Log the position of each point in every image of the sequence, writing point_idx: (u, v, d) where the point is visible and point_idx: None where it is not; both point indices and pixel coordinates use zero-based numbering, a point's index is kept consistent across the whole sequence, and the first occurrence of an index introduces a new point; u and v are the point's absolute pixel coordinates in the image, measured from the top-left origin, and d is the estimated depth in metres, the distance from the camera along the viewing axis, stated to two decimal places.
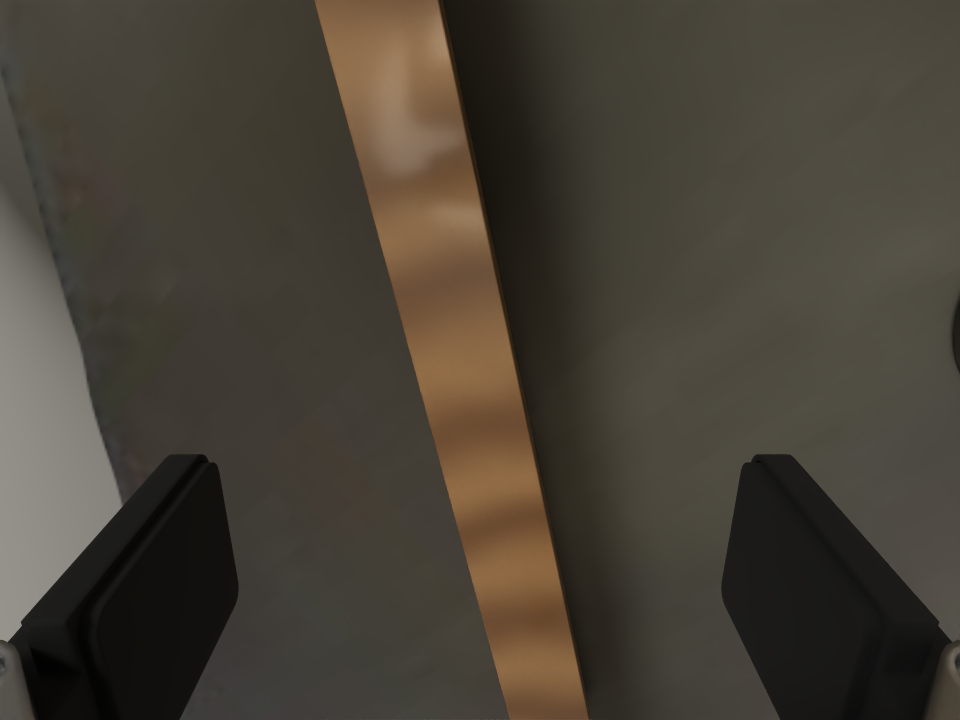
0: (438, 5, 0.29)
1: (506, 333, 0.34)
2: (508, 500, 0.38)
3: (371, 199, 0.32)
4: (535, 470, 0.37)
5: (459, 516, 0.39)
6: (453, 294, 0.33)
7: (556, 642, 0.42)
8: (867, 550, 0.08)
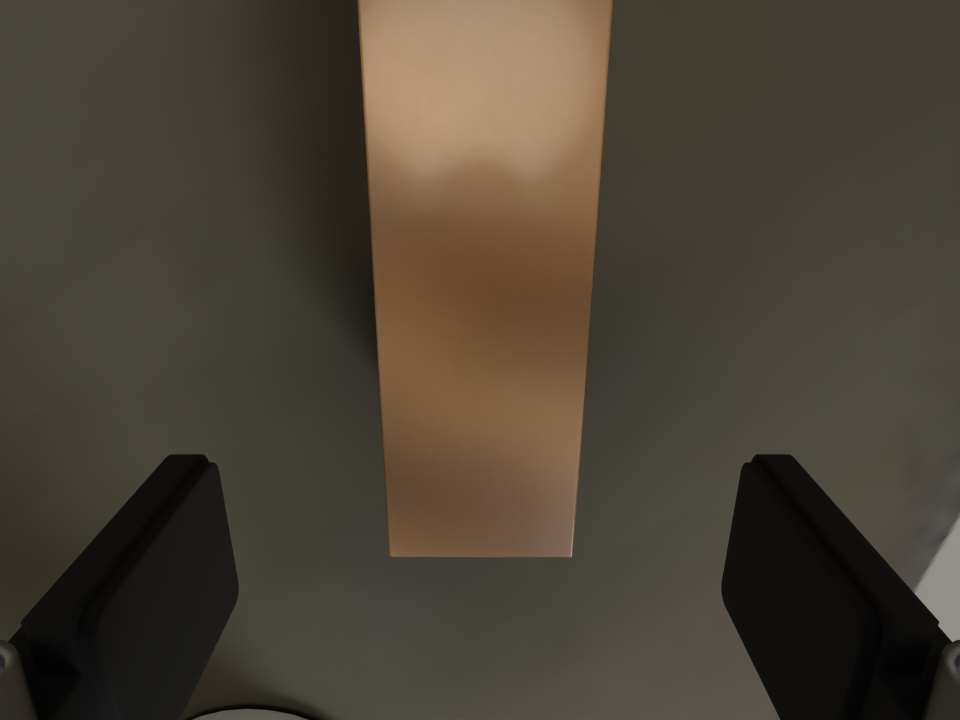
0: (369, 179, 0.15)
1: None
2: None
3: None
4: None
5: None
6: None
7: None
8: (867, 550, 0.08)
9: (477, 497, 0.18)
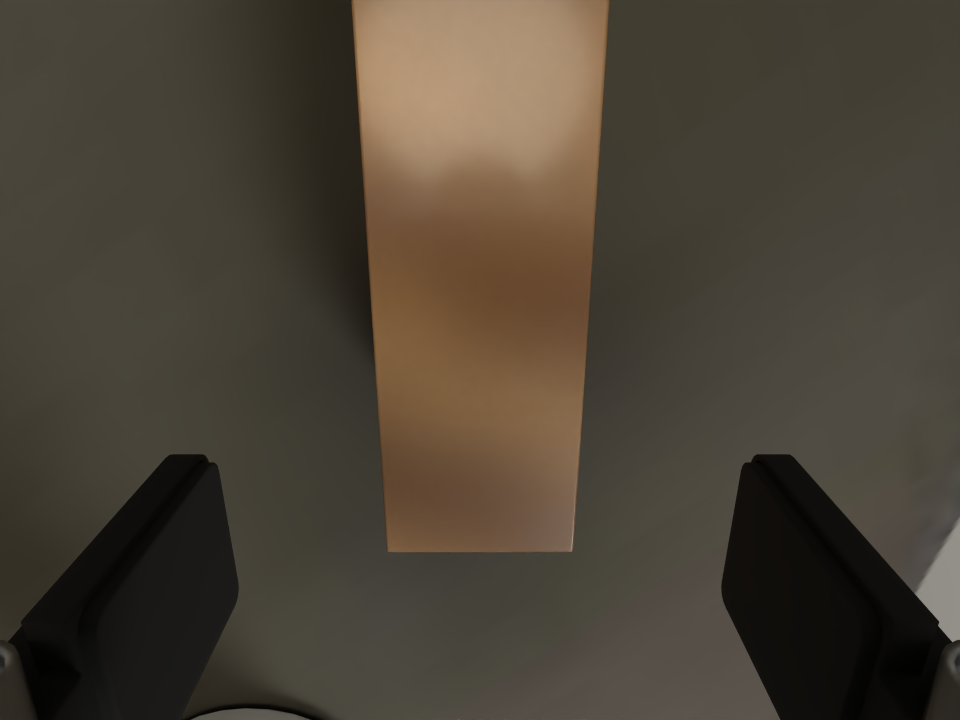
0: (363, 166, 0.15)
1: None
2: None
3: None
4: None
5: None
6: None
7: None
8: (867, 550, 0.08)
9: (476, 491, 0.18)
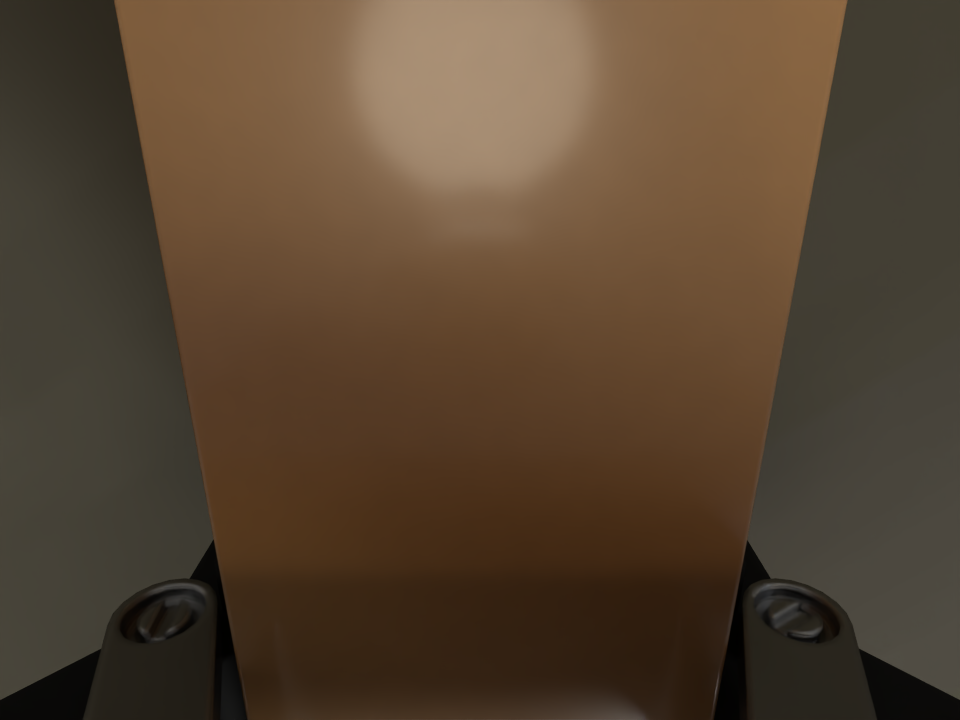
0: (167, 275, 0.05)
1: None
2: None
3: None
4: None
5: None
6: None
7: None
8: None
9: None
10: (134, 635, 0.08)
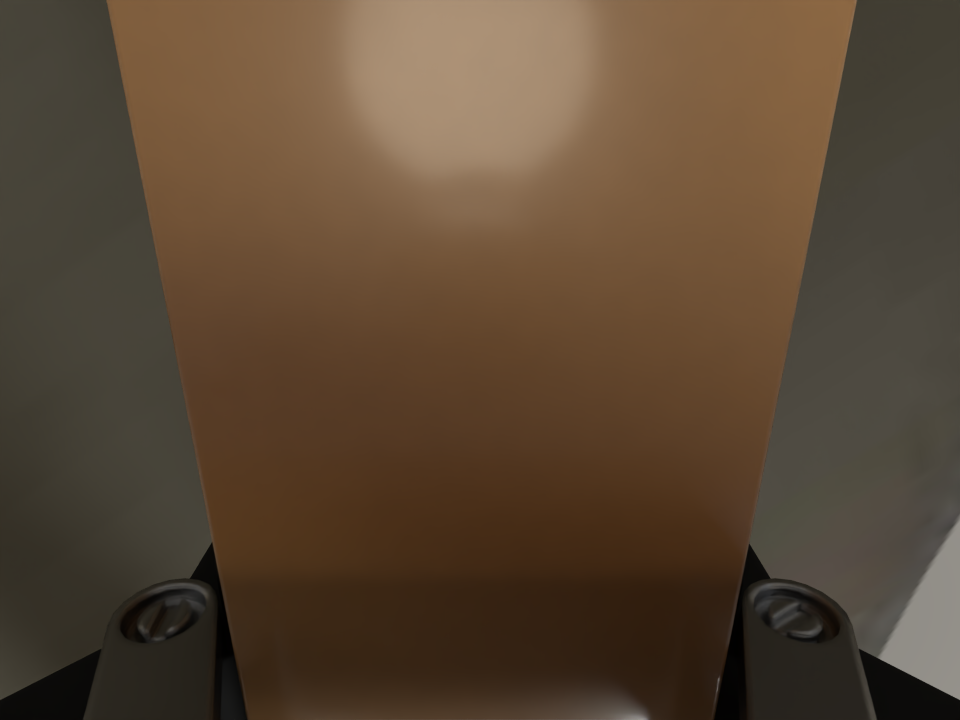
0: (163, 278, 0.05)
1: None
2: None
3: None
4: None
5: None
6: None
7: None
8: None
9: None
10: (134, 635, 0.08)
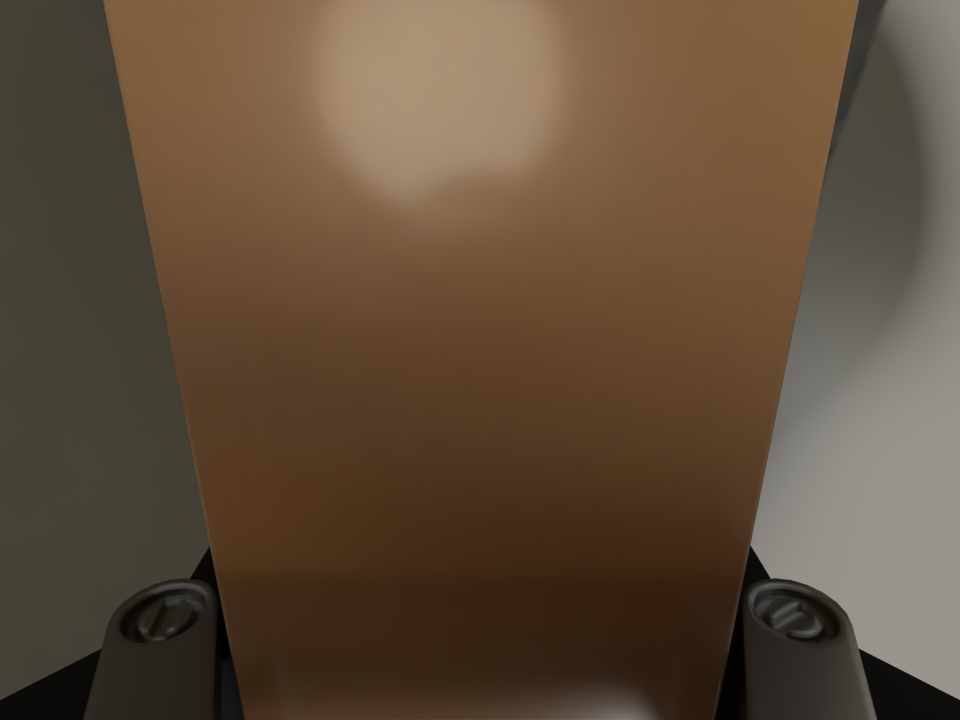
0: (159, 276, 0.05)
1: None
2: None
3: None
4: None
5: None
6: None
7: None
8: None
9: None
10: (135, 635, 0.08)
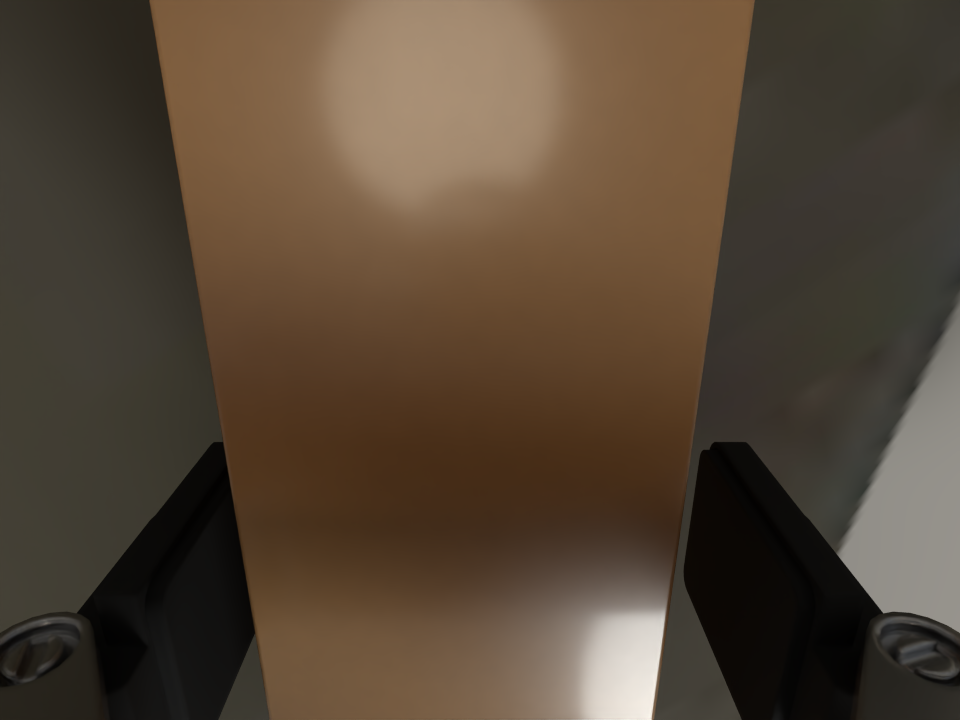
0: (200, 294, 0.07)
1: None
2: None
3: None
4: None
5: None
6: None
7: None
8: (808, 530, 0.09)
9: None
10: None
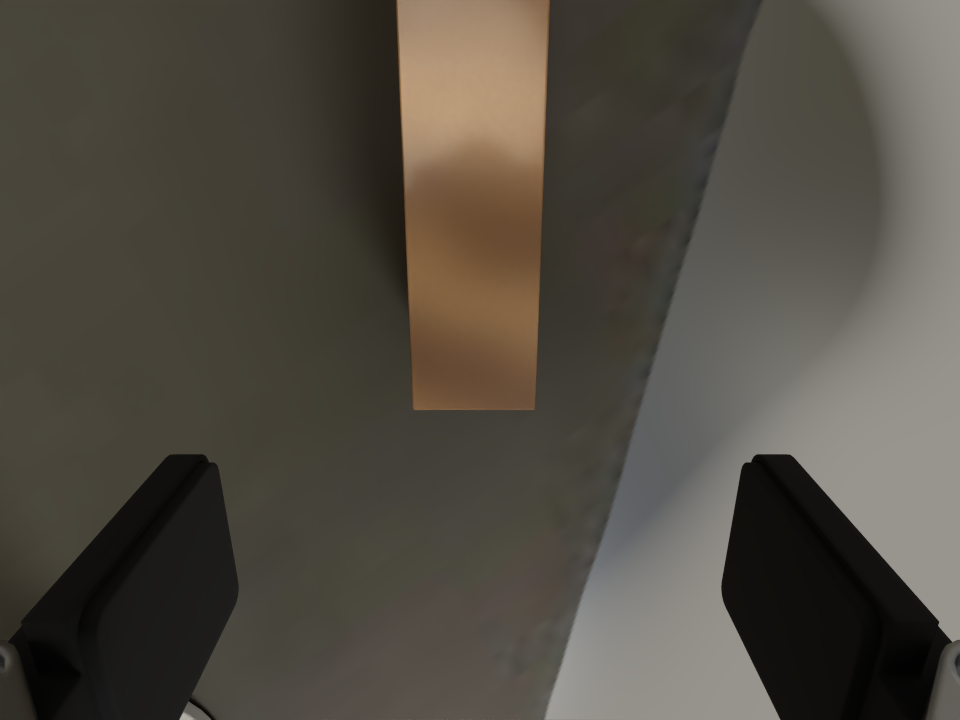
0: (403, 155, 0.24)
1: None
2: None
3: None
4: None
5: None
6: None
7: None
8: (867, 550, 0.08)
9: (471, 366, 0.28)
10: None
